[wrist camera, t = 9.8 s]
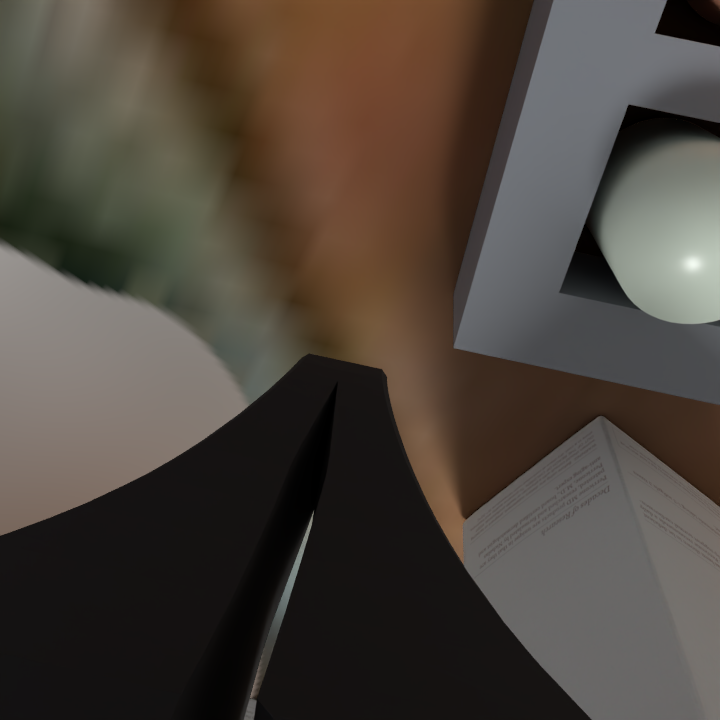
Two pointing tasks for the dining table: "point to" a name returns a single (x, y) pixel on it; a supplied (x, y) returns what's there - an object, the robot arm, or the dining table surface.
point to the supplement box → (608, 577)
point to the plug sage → (663, 219)
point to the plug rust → (707, 9)
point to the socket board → (580, 202)
